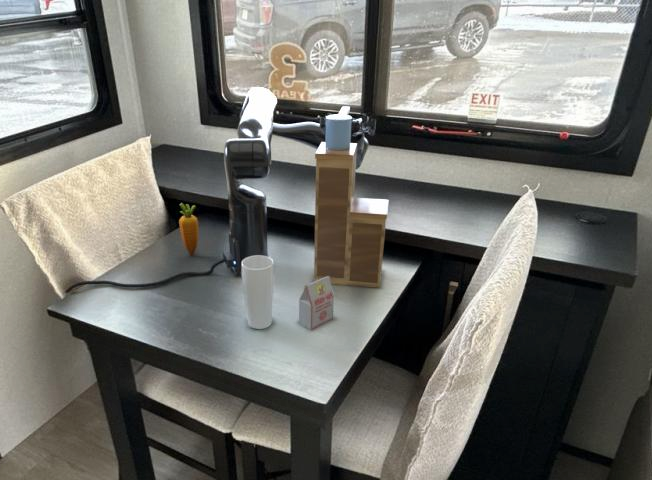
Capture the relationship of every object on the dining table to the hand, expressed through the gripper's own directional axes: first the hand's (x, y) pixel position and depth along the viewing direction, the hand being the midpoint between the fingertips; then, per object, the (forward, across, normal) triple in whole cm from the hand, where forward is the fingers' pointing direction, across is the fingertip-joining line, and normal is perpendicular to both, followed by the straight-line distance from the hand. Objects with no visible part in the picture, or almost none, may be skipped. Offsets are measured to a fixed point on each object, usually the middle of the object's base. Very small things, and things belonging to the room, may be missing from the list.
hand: (346, 117), depth 135 cm
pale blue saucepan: (+7, 0, +8) cm, 11 cm away
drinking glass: (+19, -13, +52) cm, 57 cm away
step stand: (-3, +4, +39) cm, 39 cm away
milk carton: (+16, -1, +50) cm, 53 cm away
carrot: (-7, -39, +37) cm, 54 cm away
